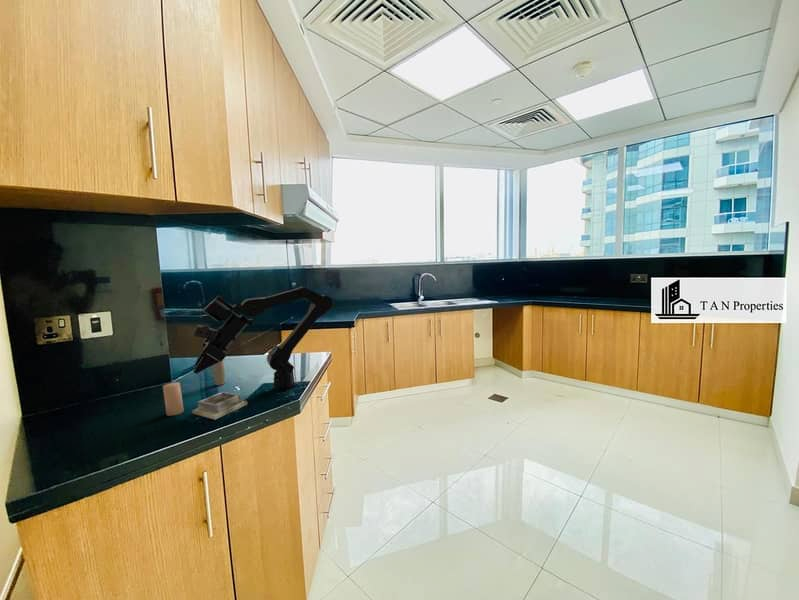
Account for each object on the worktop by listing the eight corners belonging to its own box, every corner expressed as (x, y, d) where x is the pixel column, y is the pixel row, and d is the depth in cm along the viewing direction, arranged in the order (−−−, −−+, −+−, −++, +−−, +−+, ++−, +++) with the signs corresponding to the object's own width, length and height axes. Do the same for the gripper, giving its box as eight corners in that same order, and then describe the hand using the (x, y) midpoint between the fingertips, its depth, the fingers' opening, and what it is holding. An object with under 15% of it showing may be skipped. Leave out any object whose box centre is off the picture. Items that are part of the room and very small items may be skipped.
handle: (231, 382, 127) (227, 345, 126) (214, 388, 122) (209, 349, 121) (225, 380, 130) (221, 343, 129) (208, 385, 125) (204, 347, 124)
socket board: (225, 399, 110) (224, 389, 110) (247, 404, 105) (246, 394, 105) (192, 413, 101) (191, 402, 100) (215, 419, 96) (213, 408, 95)
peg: (178, 408, 105) (174, 381, 104) (186, 410, 103) (183, 383, 102) (163, 414, 101) (159, 386, 100) (171, 416, 99) (167, 388, 98)
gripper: (208, 312, 113) (174, 349, 109) (208, 318, 97) (168, 361, 93) (236, 331, 118) (204, 367, 114) (240, 340, 102) (203, 382, 97)
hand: (195, 369), depth 104 cm, fingers open, 9 cm apart
